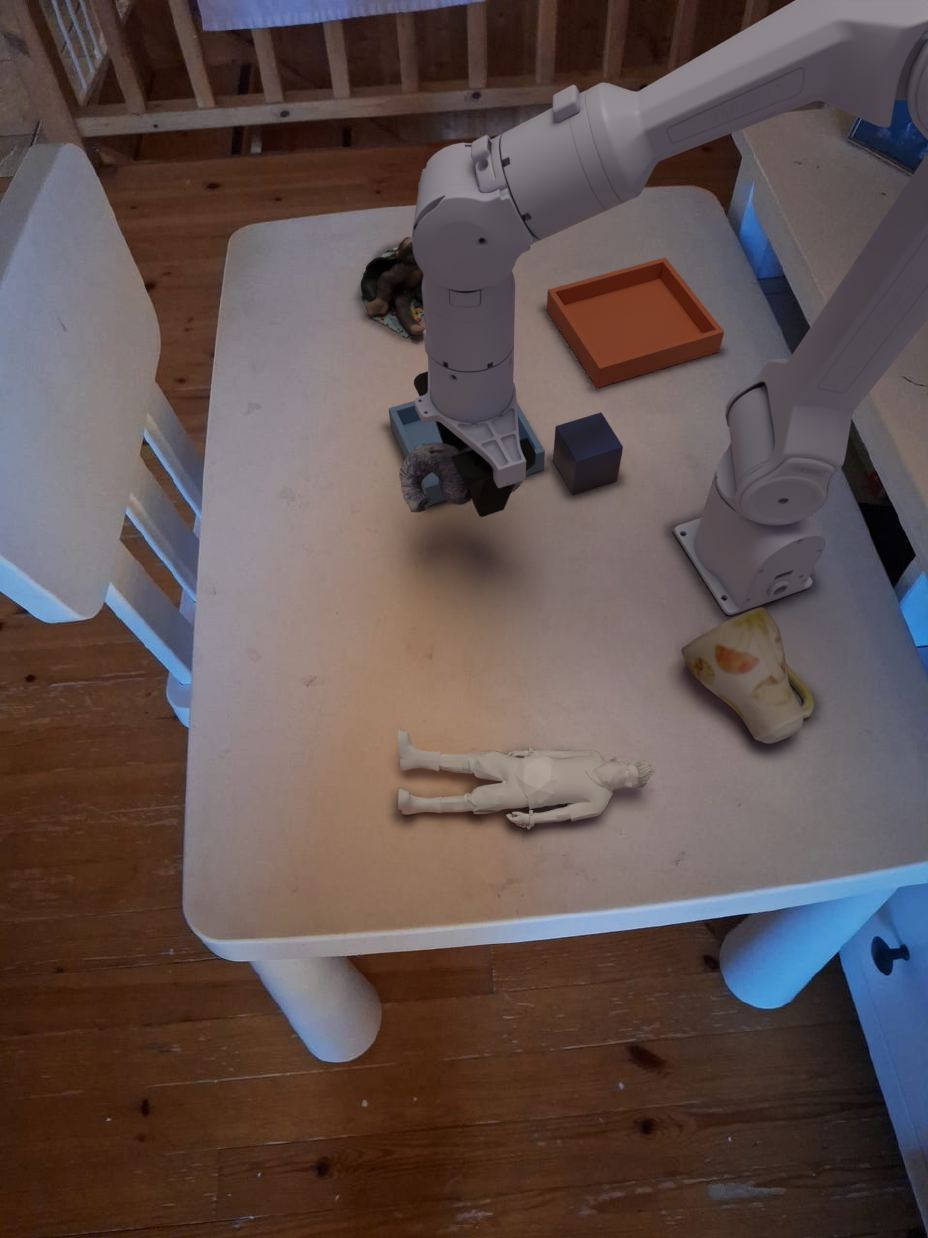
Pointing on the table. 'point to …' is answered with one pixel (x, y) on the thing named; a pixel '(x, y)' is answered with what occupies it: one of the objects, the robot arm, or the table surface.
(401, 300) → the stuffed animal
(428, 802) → the figurine
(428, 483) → the blue tray
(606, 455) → the blue block
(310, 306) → the table surface
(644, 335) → the terracotta tray
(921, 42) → the robot arm
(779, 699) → the mug
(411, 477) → the grey curved piece
